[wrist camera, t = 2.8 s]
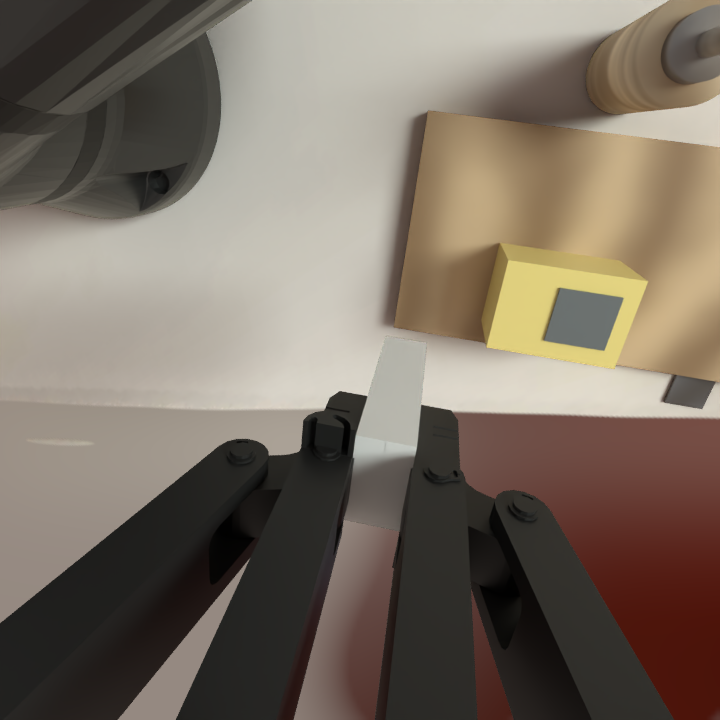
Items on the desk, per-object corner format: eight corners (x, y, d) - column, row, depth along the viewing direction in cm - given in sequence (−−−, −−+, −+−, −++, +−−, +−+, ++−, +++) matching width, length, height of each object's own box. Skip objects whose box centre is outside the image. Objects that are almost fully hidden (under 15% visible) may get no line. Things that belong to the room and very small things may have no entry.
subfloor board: (390, 353, 35) (388, 360, 34) (436, 61, 27) (436, 58, 26) (776, 420, 32) (787, 430, 31) (950, 120, 25) (974, 120, 23)
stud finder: (481, 320, 31) (486, 348, 27) (499, 242, 29) (508, 260, 25) (592, 338, 31) (615, 370, 27) (619, 260, 29) (649, 282, 24)
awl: (576, 109, 27) (678, 90, 15) (599, 22, 25) (737, -76, 13) (651, 118, 27) (817, 106, 15) (680, 31, 25) (896, -62, 13)
